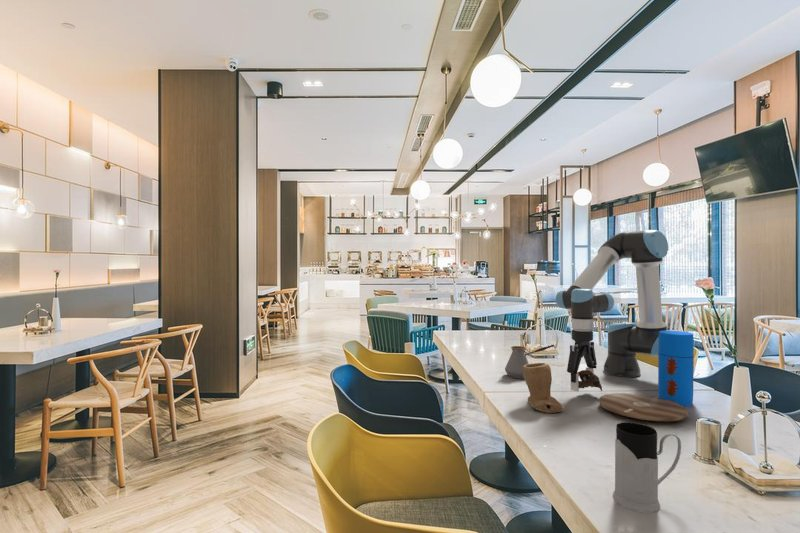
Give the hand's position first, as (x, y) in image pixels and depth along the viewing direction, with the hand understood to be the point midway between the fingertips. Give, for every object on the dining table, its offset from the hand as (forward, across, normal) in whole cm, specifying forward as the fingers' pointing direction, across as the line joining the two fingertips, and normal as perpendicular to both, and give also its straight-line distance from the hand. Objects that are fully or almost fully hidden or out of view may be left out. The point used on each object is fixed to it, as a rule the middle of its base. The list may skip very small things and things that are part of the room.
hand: (582, 387), depth 164 cm
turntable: (+1, +2, +22) cm, 22 cm away
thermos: (+4, -20, +25) cm, 32 cm away
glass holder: (+2, +60, +46) cm, 76 cm away
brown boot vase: (+3, +24, -2) cm, 25 cm away
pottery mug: (+1, -1, +2) cm, 2 cm away
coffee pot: (+3, -8, -28) cm, 29 cm away
